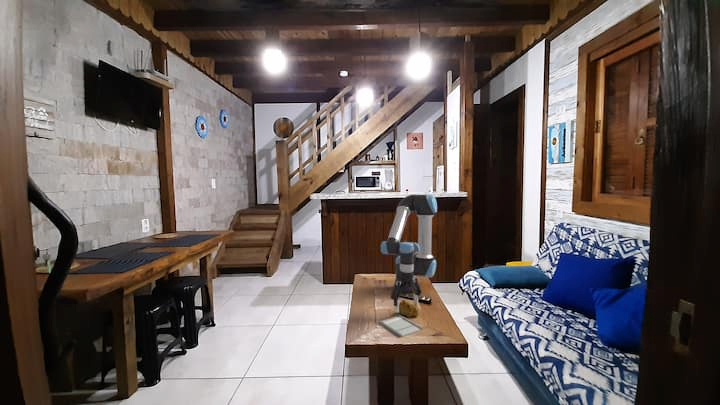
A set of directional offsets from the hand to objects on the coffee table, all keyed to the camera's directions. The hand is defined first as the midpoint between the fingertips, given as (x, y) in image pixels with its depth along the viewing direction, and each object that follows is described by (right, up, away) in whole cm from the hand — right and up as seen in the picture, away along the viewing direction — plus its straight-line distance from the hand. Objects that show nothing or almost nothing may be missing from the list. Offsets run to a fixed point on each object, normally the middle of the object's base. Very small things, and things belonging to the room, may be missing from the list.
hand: (406, 309), depth 169 cm
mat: (-5, -4, -13) cm, 15 cm away
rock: (+1, -4, 0) cm, 4 cm away
